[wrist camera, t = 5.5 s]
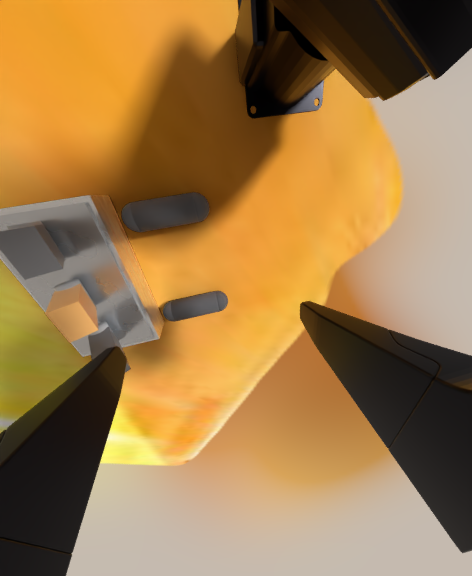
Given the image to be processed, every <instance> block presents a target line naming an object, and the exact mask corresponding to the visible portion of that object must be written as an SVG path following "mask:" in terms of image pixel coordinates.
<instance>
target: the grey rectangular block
mask: <svg viewBox="0 0 472 576" xmlns="http://www.w3.org/2000/svg"><path fill="white" fill-rule="evenodd" d="M7 228H8V229H9V230H4V231H0V250H1V251H2V253H3V254H4V255H5V256H6V257H7V259H8V260H9V261H10V262H11V264H12V265H13V266H14V267H15V268H16V270H17V271H18V272H19V273H20V275H21V276H22V277H23V278H24V279H25V280H26V279H29V278H33V277H36V276H40V275H43V274H47V273H50V272H54V271H57V270H61V269H63V266H64V261H65V260H66V259H65V258H64V256H63V254H62V253H61V251H60V250H59V248H58V247H57V245H56V244H55V242H54V241H53V239H52V237H51V236H50V234H49V233H48V231H47V230H46V228H45V227H44V225H43V224H42V222H41V221H37V222H31V223H24V224H18V225H12V226H7Z"/></svg>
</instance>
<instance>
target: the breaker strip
mask: <svg viewBox="0 0 472 576" xmlns="http://www.w3.org/2000/svg"><path fill="white" fill-rule="evenodd" d="M37 221H41V222H42V224H43V225H44V227H45V228H46V230H47V231H48V233H49V234H50V236H51V237H52V239H53V241H54V242H55V244H56V245H57V247H58V248H59V250H60V251H61V253H62V254H63V256H64V258H65V259H66V260H65V261H64V266H63V269H61V270H57V271H54V272H50V273H47V274H43V275H40V276H36V277H33V278H29V279H26V280H25V279H24V278H23V277H22V276H21V275H20V273H19V272H18V271H17V270H16V268H15V267H14V266H13V265H12V264H11V262H10V261H9V260H8V259H7V257H6V256H5V255H4V254H3V253H2V251H1V250H0V259H1V260H2V261H3V263H4V264H5V265H6V266H7V267H8V269H9V270H10V271H11V272H12V273H13V275H14V276H15V277H16V278H17V279H18V281H19V282H20V283H21V284H22V285H23V286H24V288H25V289H26V290H27V291H28V292H29V294H30V295H31V296H32V297H33V298H34V300H35V301H36V302H37V303H38V304H39V306H40V307H41V308H42V309H43V310H44V312H46V310H47V307H48V305H49V303H50V300H51V298H52V296H53V293H54V292H55V290H54V289H53V287H55V286H56V285H58V284H60V283H63V282H66V281H69V280H73V279H79V281H80V282H81V284H82V285H83V287H84V288H85V290H86V291H87V293H88V294H89V296H90V298H91V299H92V301H93V302H94V304H95V305H96V307H97V310H96V311H97V320H98V323H99V322H107V324H108V325H109V327H110V328H111V330H112V331H113V333H114V335H115V336H116V338H117V339H118V341H119V342H120V344H121V347H127V346H131V345H135V344H139V343H144V342H148V341H152V340H157V339H160V336H161V332H162V329H163V325H164V319H163V317H162V315H161V313H160V310H159V308H158V306H157V303H156V301H155V299H154V297H153V294H152V292H151V290H150V288H149V285H148V283H147V281H146V278H145V276H144V274H143V272H142V269H141V267H140V265H139V263H138V260H137V258H136V256H135V253H134V251H133V249H132V247H131V244H130V242H129V240H128V238H127V235H126V233H125V231H124V229H123V226H122V224H121V222H120V219H119V217H118V215H117V213H116V210H115V208H114V206H113V204H112V201H111V199H110V197H109V195H87V196H80V197H74V198H67V199H61V200H54V201H48V202H41V203H35V204H28V205H22V206H16V207H9V208H3V209H0V231H4V230H9V229H8V228H7V226H12V225H18V224H24V223H31V222H37ZM71 344H72V345H73V346H74V347H75V348H76V350H77V351H78V352H79V353H80V354H81V356H82V357H84V356H88V355H91V352H90V346H89V340H88V335H87V336H84V337H82V338H80V339H78V340H76V341H73V342H71Z"/></svg>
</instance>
